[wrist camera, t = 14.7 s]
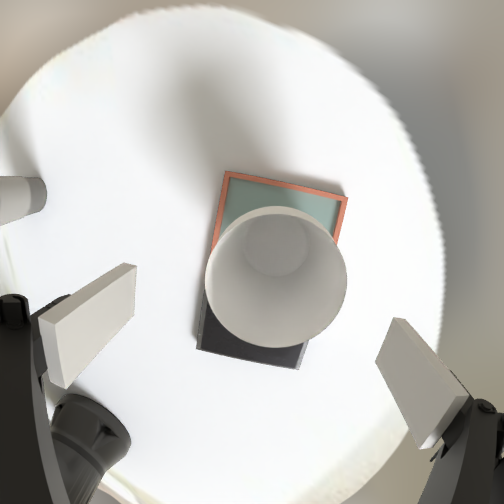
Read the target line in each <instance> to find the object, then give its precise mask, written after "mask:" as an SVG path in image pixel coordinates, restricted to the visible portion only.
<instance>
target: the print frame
mask: <svg viewBox="0 0 504 504" xmlns="http://www.w3.org/2000/svg"><path fill="white" fill-rule="evenodd" d="M347 201H348V197H344V196H340V195H336V194H332V193H328V192H324V191H320V190H316V189H312V188H307V187H303V186H299V185H294V184H290V183H285V182H281V181H276V180H271V179H266V178H261V177H256V176H251V175H246V174H241V173H235V172H230V171H225V175H224V180H223V185H222V191H221V196H220V201H219V207H218V212H217V218H216V224H215V229H214V235H213V241H212V247H211V253H212V251H213V249H214V248H215V246H216V244H217V242H218V240H219V238H220V237H221V235H222V233H223V232H224V231H225V230H226V228H227V227H228V226H229V225H230V224H231V223H232V222H234V221H235V220H236V219H238V218H239V217H240V216H242V215H244V214H246V213H248V212H250V211H252V210H255V209H258V208H263V207H269V206H284V207H290V208H294V209H297V210H300V211H302V212H305V213H307V214H308V215H310V216H312V217H313V218H315V219H316V220H317V221H319V222H320V223H321V224H322V225H323V226H324V227H325V228H326V229H327V231H328V232H329V233H330V235H331V236H332V238H333V240H334V242H335V244H336V245H337V242H338V238H339V234H340V230H341V226H342V222H343V218H344V214H345V209H346V205H347ZM211 253H210V255H211Z"/></svg>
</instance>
